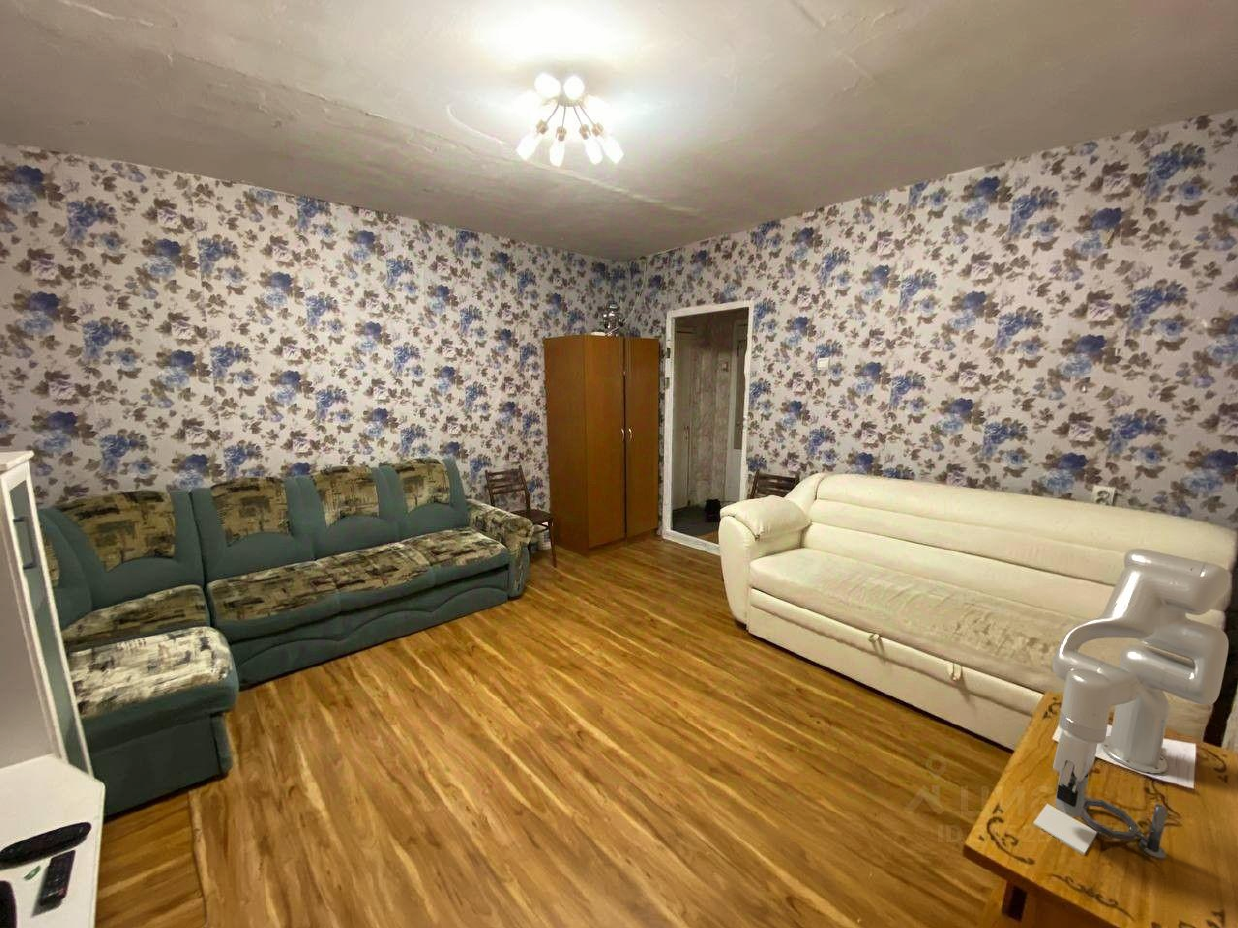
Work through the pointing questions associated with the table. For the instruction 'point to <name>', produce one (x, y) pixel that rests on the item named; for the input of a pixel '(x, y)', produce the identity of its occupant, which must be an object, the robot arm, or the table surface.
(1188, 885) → the table surface
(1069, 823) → the coaster
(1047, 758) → the table surface
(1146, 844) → the ring stand
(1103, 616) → the robot arm
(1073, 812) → the gray hollow cylinder
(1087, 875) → the table surface
